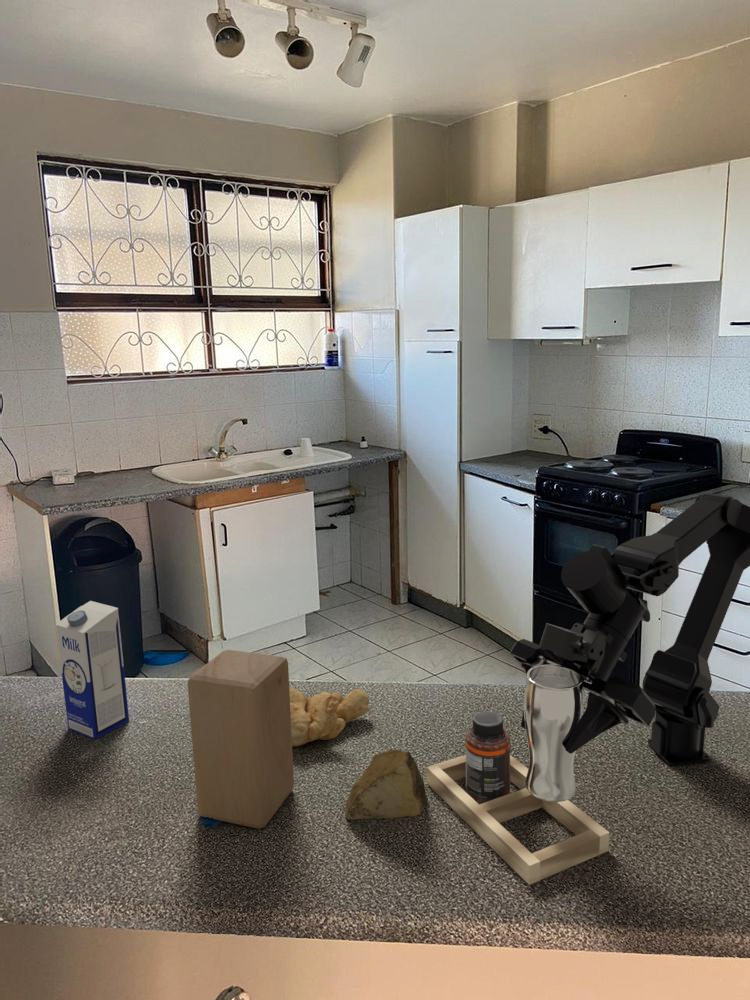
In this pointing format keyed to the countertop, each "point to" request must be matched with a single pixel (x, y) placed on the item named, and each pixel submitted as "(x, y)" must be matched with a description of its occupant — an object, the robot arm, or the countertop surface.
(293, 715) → the ginger root
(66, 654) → the milk carton
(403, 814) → the rock
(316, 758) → the countertop surface
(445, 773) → the divided wooden frame
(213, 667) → the wooden block
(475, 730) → the supplement bottle
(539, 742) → the beer glass
